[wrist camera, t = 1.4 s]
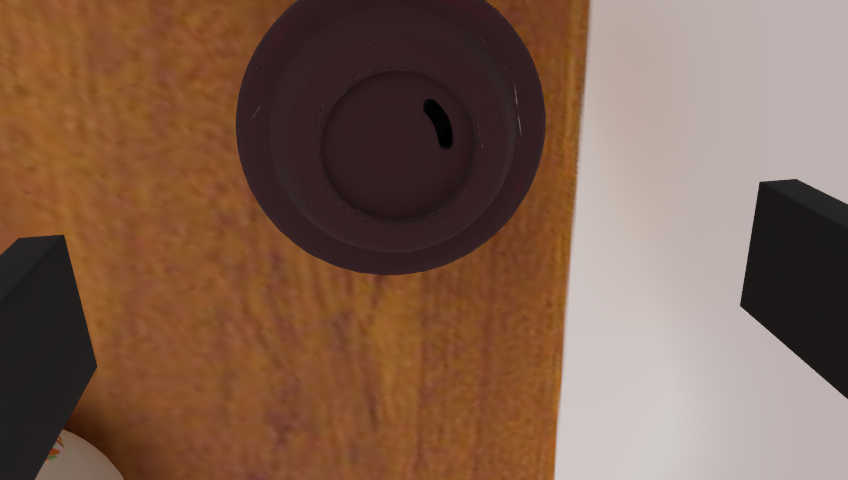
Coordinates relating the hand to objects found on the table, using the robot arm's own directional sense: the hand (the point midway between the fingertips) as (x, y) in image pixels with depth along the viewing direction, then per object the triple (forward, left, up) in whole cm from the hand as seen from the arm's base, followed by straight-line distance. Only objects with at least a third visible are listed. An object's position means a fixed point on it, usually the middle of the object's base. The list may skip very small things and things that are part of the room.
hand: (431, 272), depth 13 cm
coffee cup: (0, 0, -23) cm, 23 cm away
